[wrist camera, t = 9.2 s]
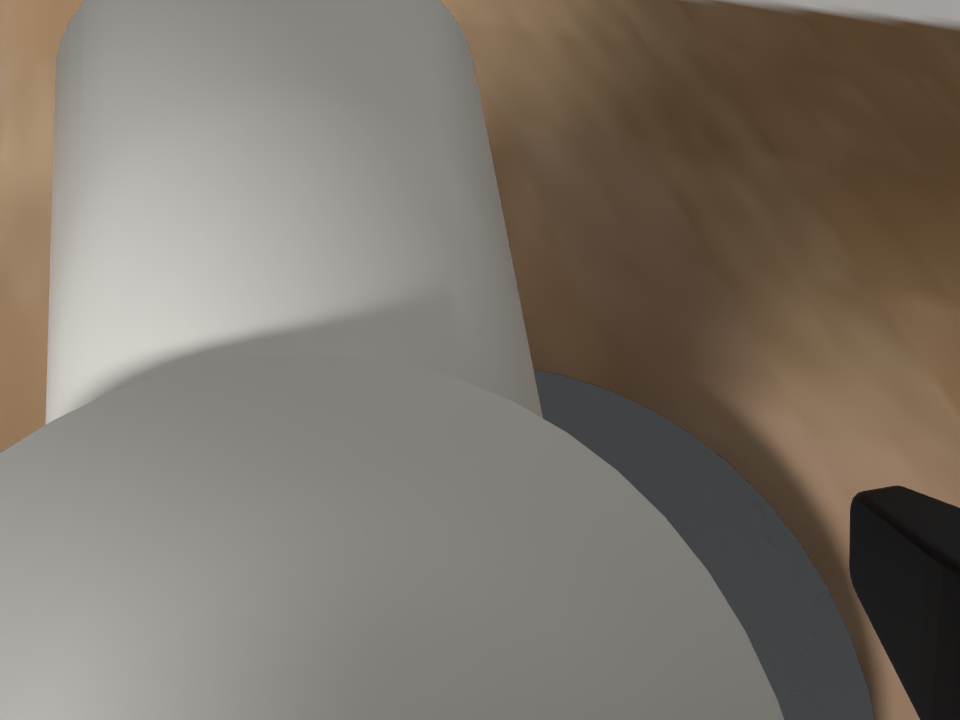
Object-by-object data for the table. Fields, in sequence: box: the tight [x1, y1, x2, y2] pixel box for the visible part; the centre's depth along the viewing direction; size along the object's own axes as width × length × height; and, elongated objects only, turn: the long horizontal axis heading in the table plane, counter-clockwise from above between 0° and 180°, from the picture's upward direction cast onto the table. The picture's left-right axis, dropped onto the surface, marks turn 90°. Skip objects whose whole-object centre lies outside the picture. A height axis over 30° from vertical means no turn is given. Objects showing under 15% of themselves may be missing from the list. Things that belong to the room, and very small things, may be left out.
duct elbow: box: [0, 0, 784, 720], centre depth 10 cm, size 7×4×12 cm, turn 9°
